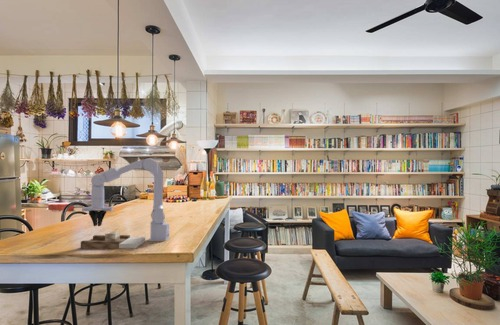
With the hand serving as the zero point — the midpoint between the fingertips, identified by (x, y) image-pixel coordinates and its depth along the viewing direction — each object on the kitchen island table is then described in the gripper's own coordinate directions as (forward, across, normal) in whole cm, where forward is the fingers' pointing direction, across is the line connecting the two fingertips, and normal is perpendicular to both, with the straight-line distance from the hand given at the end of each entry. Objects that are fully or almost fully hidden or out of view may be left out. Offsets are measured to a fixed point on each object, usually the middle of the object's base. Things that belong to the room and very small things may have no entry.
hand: (97, 225), depth 141 cm
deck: (+9, +8, 0) cm, 13 cm away
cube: (+7, +8, 0) cm, 11 cm away
